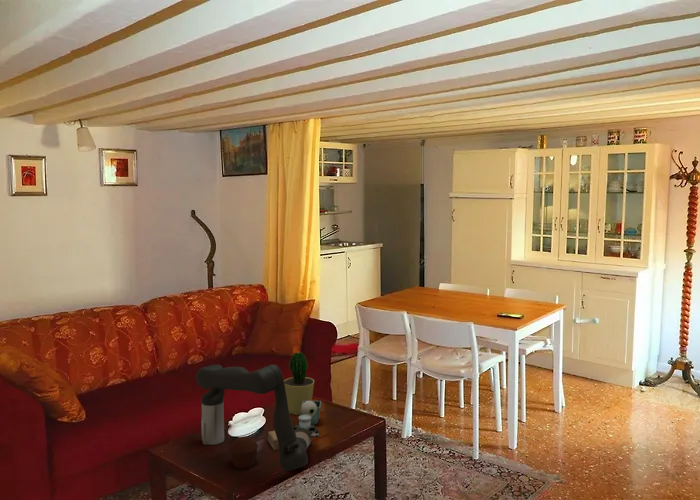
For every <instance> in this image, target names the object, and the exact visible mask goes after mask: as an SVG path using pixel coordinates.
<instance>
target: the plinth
mask: <svg viewBox="0 0 700 500" xmlns="http://www.w3.org/2000/svg"><path fill="white" fill-rule="evenodd" d="M267 442H268V443H269V445H270V446H271V448H272V450H273V451H276V450H277V451H279V443H278V439H277V436H276V433H275V430H272V431H270V430H269V431H267ZM288 447H289V446H287V449H288Z"/></svg>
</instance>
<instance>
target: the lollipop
mask: <svg viewBox="0 0 700 500" xmlns="http://www.w3.org/2000/svg"><path fill="white" fill-rule="evenodd" d="M313 401H314V400H312V401H306V402H304V403H303V404H302V406H301V412H302V414H303V415H310V416H311V417H312V416H314V415H315V414H316V411H317V406H316V404H315V403H314V402H313Z"/></svg>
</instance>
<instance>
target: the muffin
mask: <svg viewBox="0 0 700 500" xmlns="http://www.w3.org/2000/svg"><path fill="white" fill-rule="evenodd" d="M258 447H259V445H258V443H257V441H256V440H255V439H253V438H252V437H249V436H240V437H238V438H236V439H235V440H233V442H231V443H230V445H229V447H228V450H229V452H230V455H231V460H232V464H233V467H236V468H237V469H242V468H243V469H247V468H249V467H253V465H255V464H256V459H257V452H258Z"/></svg>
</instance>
